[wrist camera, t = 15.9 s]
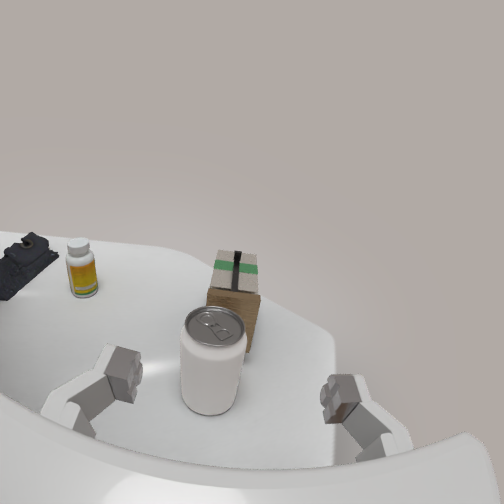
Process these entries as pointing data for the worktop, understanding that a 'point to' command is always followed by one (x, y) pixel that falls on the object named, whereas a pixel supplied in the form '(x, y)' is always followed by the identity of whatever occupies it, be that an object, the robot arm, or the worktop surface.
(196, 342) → the can
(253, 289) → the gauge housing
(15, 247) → the dark folded fabric
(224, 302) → the gauge plunger
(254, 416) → the worktop surface
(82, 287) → the supplement bottle
